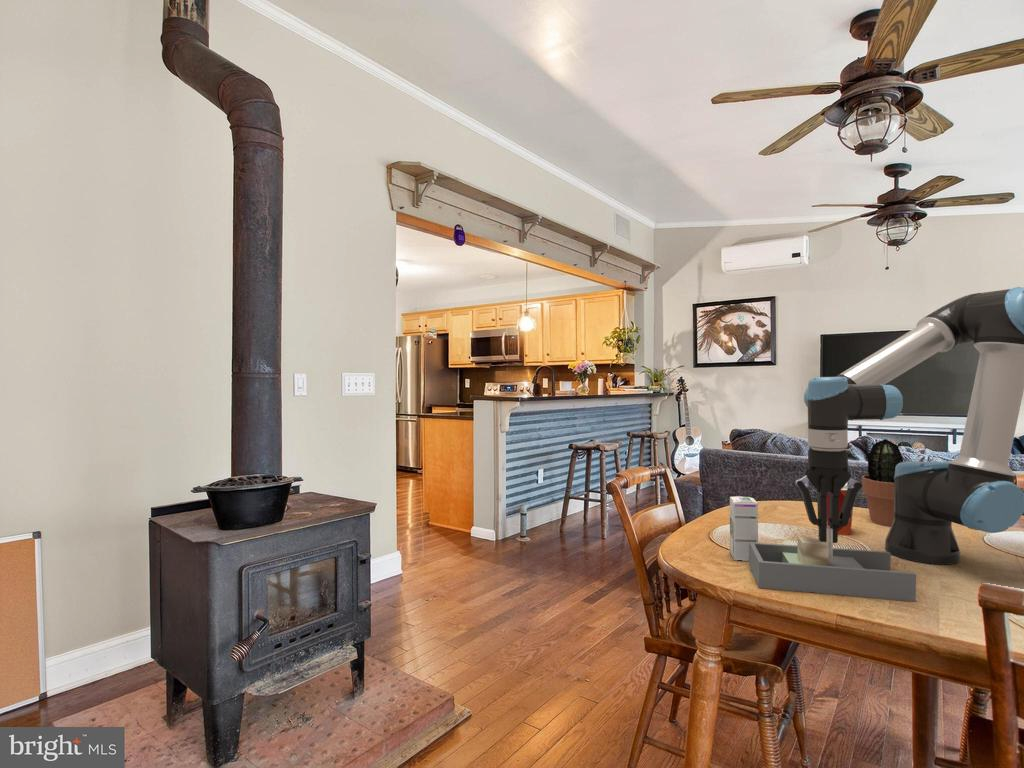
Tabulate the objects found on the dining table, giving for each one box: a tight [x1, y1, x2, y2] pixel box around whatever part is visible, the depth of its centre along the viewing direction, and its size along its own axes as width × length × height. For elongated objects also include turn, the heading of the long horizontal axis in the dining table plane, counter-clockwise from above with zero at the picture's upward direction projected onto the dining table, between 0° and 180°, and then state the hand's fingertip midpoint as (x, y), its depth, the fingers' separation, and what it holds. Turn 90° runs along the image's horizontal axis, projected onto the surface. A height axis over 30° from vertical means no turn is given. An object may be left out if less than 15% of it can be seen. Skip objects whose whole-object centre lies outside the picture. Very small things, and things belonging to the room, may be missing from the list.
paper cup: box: [826, 482, 854, 536], centre depth 161 cm, size 8×8×14 cm
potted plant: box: [861, 438, 904, 527], centre depth 170 cm, size 14×14×25 cm
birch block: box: [797, 535, 829, 566], centre depth 125 cm, size 5×5×5 cm
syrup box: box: [729, 495, 759, 562], centre depth 140 cm, size 6×6×14 cm
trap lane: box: [748, 542, 917, 602], centre depth 124 cm, size 29×14×6 cm, turn 75°
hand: (828, 557), depth 124 cm, fingers closed
